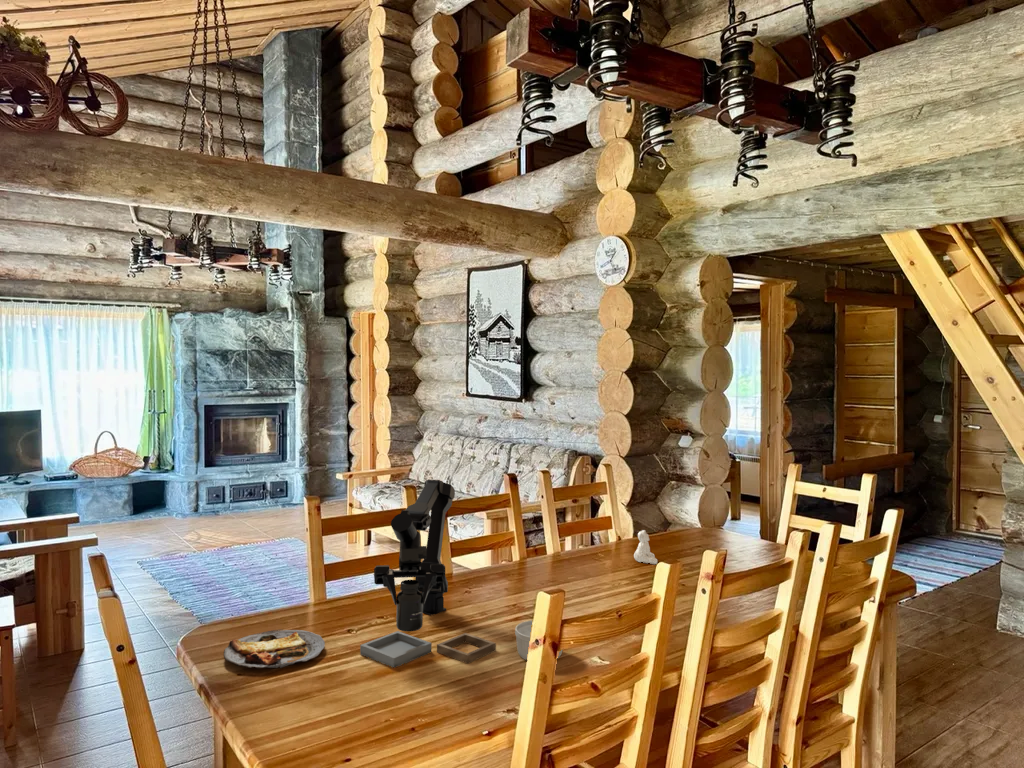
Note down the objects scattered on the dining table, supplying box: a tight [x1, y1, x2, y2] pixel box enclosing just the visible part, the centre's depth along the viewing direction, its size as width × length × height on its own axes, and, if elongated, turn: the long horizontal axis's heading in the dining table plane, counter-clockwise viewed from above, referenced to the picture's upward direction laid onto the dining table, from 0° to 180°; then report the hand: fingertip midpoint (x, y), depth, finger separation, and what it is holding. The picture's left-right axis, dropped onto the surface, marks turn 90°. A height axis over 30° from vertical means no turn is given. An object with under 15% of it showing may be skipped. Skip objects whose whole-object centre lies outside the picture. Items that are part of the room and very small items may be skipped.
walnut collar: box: [436, 632, 497, 664], centre depth 194 cm, size 11×11×2 cm
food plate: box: [223, 629, 326, 669], centre depth 191 cm, size 25×23×4 cm
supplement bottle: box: [396, 579, 424, 633], centre depth 192 cm, size 7×7×12 cm
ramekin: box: [514, 620, 563, 661], centre depth 193 cm, size 13×13×7 cm
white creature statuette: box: [633, 529, 658, 565], centre depth 283 cm, size 10×9×12 cm
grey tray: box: [359, 630, 433, 669], centre depth 192 cm, size 13×13×2 cm
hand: (409, 603), depth 191 cm, fingers closed on supplement bottle, 7 cm apart
